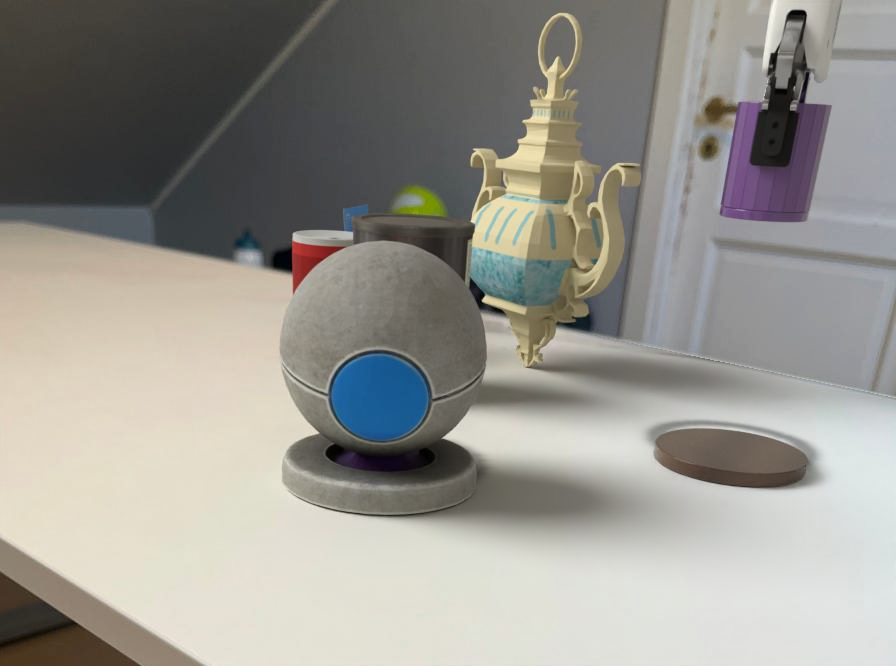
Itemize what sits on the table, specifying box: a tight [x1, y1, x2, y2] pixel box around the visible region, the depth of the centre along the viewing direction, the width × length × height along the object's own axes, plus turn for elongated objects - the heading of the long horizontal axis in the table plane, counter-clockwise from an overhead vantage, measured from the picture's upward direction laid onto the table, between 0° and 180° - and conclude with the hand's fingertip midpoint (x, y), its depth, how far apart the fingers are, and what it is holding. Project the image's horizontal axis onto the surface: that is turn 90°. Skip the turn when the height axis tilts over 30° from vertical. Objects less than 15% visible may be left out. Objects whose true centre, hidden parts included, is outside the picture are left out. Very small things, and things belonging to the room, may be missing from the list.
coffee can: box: [351, 212, 475, 289], centre depth 84 cm, size 10×10×14 cm
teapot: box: [469, 12, 642, 368], centre depth 90 cm, size 24×12×30 cm, turn 29°
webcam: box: [278, 241, 488, 516], centre depth 62 cm, size 13×13×15 cm
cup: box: [719, 101, 833, 223], centre depth 85 cm, size 8×8×9 cm
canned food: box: [291, 229, 353, 296], centre depth 98 cm, size 8×8×11 cm
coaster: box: [653, 427, 809, 488], centre depth 72 cm, size 11×11×1 cm
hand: (773, 163), depth 85 cm, fingers closed on cup, 7 cm apart
